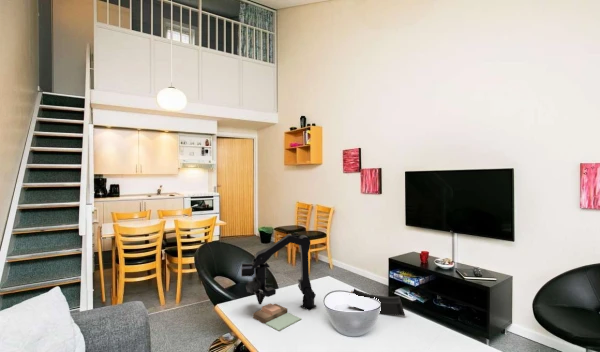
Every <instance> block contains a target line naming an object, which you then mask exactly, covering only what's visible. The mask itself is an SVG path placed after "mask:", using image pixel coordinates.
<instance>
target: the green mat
mask: <svg viewBox="0 0 600 352" xmlns="http://www.w3.org/2000/svg"><path fill="white" fill-rule="evenodd" d="M301 320H302V318H301V317H299V316H297V315H295V314H293V313H290V312H287V313H286V314H284V315H281V316H279V317H277V318H275V319H273V320H271V321H269V322H267V323H265V324H264V325H266V326H267V327H270V328H272V329H274V330H276V331H278V332H281V331H282V330H284V329H286V328H288V327H290V326H292V325H295V323H297V322H299V321H301Z"/></svg>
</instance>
